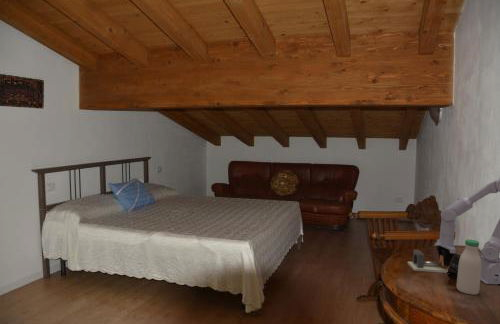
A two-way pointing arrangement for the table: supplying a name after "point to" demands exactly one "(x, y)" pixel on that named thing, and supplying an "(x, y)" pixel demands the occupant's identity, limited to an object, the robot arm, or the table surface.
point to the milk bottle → (469, 269)
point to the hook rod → (436, 263)
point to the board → (428, 268)
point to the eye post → (418, 258)
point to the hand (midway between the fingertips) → (444, 263)
